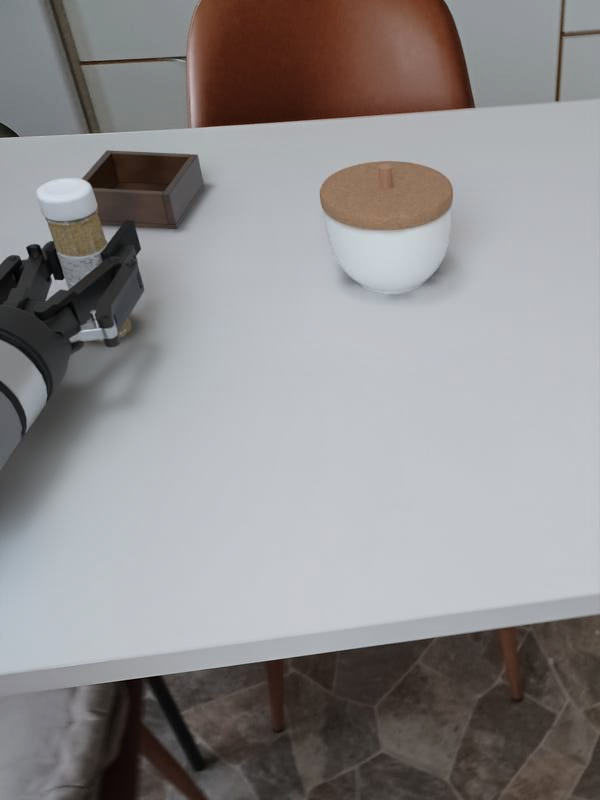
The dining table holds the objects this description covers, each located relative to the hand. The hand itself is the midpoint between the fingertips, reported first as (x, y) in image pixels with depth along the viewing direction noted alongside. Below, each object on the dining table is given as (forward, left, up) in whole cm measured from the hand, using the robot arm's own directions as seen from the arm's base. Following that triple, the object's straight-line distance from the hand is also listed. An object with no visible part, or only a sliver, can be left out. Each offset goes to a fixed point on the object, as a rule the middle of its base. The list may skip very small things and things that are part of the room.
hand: (107, 233), depth 89 cm
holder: (-5, +21, -7) cm, 22 cm away
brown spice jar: (0, -5, -7) cm, 9 cm away
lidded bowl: (+25, +8, -7) cm, 27 cm away
